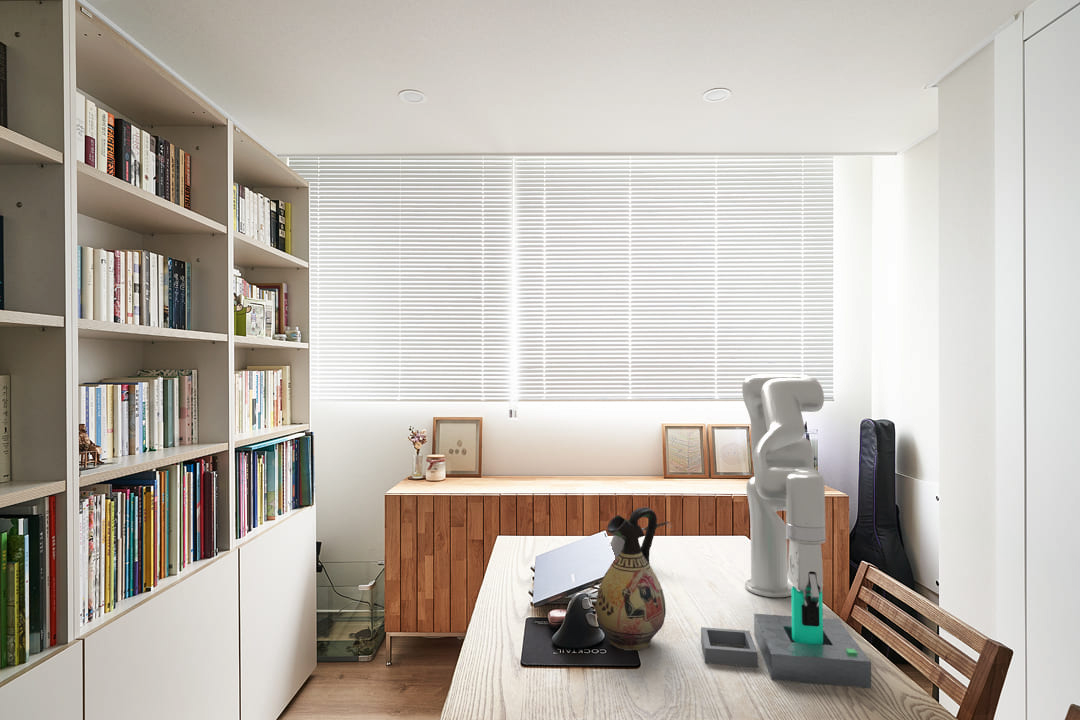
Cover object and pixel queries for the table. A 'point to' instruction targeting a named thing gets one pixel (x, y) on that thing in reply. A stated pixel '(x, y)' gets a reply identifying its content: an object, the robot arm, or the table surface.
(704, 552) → the table surface
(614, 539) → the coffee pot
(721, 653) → the grey square tray
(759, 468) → the robot arm
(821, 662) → the port block
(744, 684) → the table surface
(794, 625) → the candle
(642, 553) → the ceramic jug
